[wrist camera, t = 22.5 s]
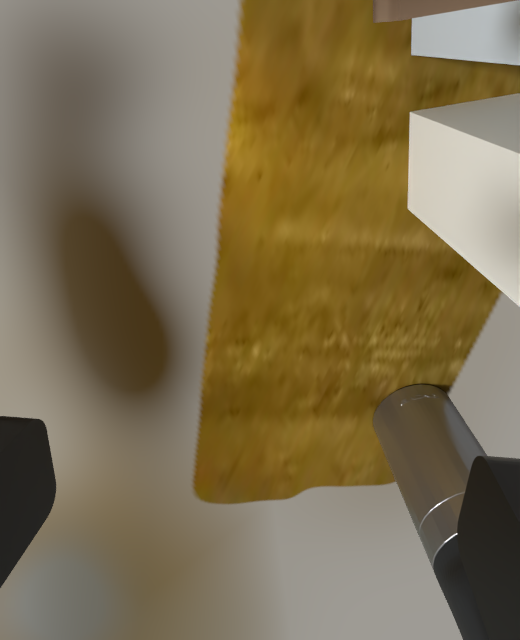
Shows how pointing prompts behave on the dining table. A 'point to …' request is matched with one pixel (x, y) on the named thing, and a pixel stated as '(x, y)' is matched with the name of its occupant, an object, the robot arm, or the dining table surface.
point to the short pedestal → (470, 34)
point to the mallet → (422, 8)
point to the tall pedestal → (471, 183)
